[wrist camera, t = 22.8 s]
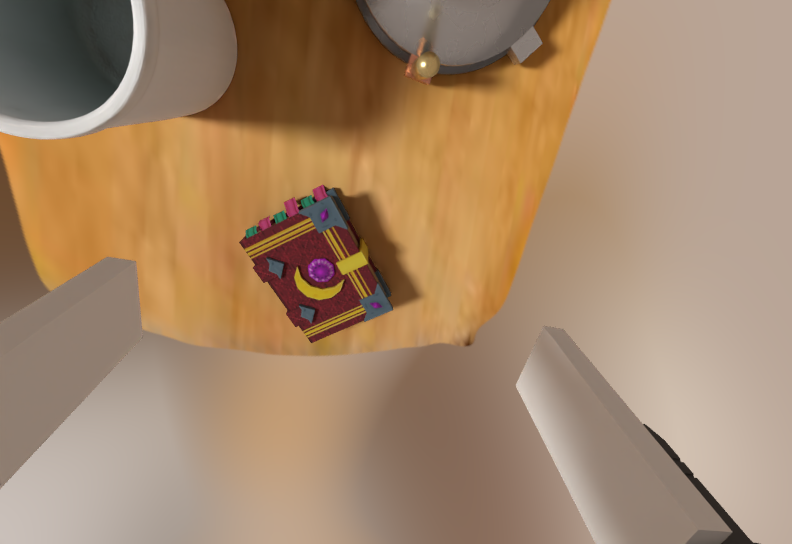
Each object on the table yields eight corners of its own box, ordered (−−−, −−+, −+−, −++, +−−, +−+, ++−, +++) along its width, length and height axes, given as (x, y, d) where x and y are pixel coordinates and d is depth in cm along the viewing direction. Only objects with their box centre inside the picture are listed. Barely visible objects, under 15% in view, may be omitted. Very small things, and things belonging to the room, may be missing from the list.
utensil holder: (202, -95, 30) (15, -310, 14) (271, 100, 36) (196, 103, 21) (35, -46, 30) (-325, -199, 15) (132, 137, 37) (-44, 168, 21)
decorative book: (314, 325, 48) (309, 348, 44) (242, 220, 42) (227, 235, 37) (391, 291, 47) (394, 311, 42) (329, 177, 40) (324, 187, 36)
